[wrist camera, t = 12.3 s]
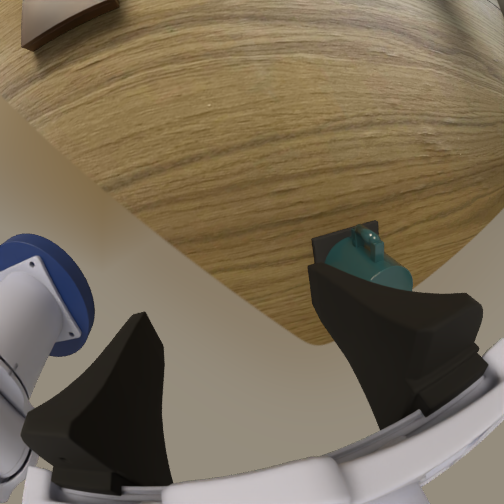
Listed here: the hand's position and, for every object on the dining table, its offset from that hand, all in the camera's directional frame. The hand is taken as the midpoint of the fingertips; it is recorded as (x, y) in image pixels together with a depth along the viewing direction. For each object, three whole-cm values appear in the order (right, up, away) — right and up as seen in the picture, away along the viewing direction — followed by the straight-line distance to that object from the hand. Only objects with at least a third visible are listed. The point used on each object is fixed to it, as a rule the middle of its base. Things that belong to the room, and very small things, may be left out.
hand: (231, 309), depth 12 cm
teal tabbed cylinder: (+9, +1, +12) cm, 16 cm away
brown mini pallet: (-14, +24, -2) cm, 28 cm away
